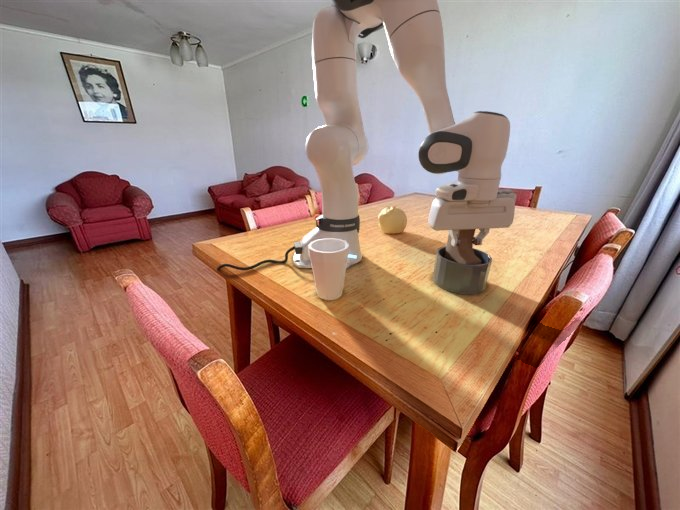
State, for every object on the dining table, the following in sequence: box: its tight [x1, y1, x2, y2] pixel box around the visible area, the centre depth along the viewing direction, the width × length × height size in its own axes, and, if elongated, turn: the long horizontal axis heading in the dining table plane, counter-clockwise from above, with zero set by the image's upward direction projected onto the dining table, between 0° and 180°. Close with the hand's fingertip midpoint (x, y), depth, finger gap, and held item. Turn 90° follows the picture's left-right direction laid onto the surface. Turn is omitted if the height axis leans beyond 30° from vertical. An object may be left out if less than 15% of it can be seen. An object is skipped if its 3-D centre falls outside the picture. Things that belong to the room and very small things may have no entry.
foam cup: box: [308, 238, 349, 301], centre depth 64 cm, size 10×9×13 cm
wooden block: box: [444, 229, 481, 265], centre depth 67 cm, size 9×4×18 cm, turn 13°
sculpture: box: [377, 205, 408, 234], centre depth 109 cm, size 12×12×11 cm
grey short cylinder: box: [432, 244, 493, 296], centre depth 71 cm, size 17×13×8 cm
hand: (465, 245), depth 67 cm, fingers closed on wooden block, 4 cm apart
